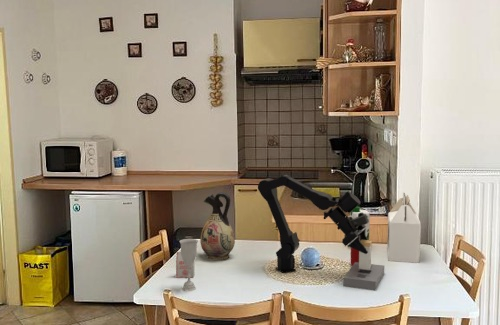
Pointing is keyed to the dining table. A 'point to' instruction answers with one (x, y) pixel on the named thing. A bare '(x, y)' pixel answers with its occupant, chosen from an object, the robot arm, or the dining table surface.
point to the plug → (365, 255)
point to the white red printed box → (182, 267)
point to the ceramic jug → (217, 230)
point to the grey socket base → (364, 277)
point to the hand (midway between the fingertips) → (369, 250)
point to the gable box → (403, 232)
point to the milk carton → (355, 214)
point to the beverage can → (354, 256)
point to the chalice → (188, 259)
